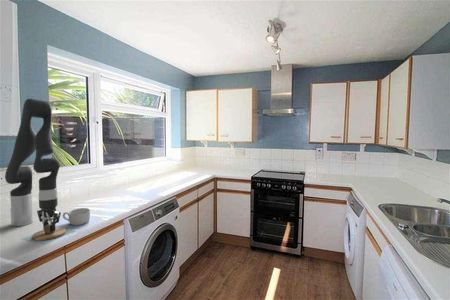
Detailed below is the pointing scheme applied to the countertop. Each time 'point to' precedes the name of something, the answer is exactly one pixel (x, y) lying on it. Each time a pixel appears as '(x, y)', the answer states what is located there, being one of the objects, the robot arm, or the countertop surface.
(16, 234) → the countertop surface
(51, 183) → the robot arm
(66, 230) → the mat
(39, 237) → the lid
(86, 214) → the teacup
